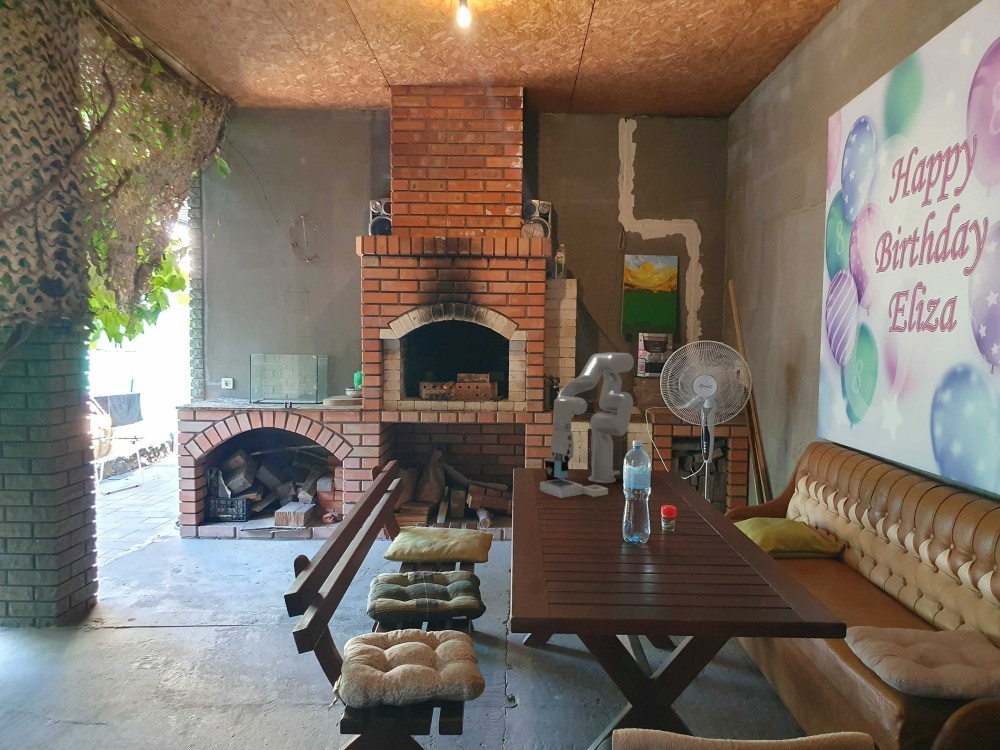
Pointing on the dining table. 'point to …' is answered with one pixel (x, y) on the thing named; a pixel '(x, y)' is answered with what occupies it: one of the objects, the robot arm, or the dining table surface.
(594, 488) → the cream square frame
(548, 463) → the coffee mug
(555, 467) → the plug
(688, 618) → the dining table surface
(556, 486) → the port panel
